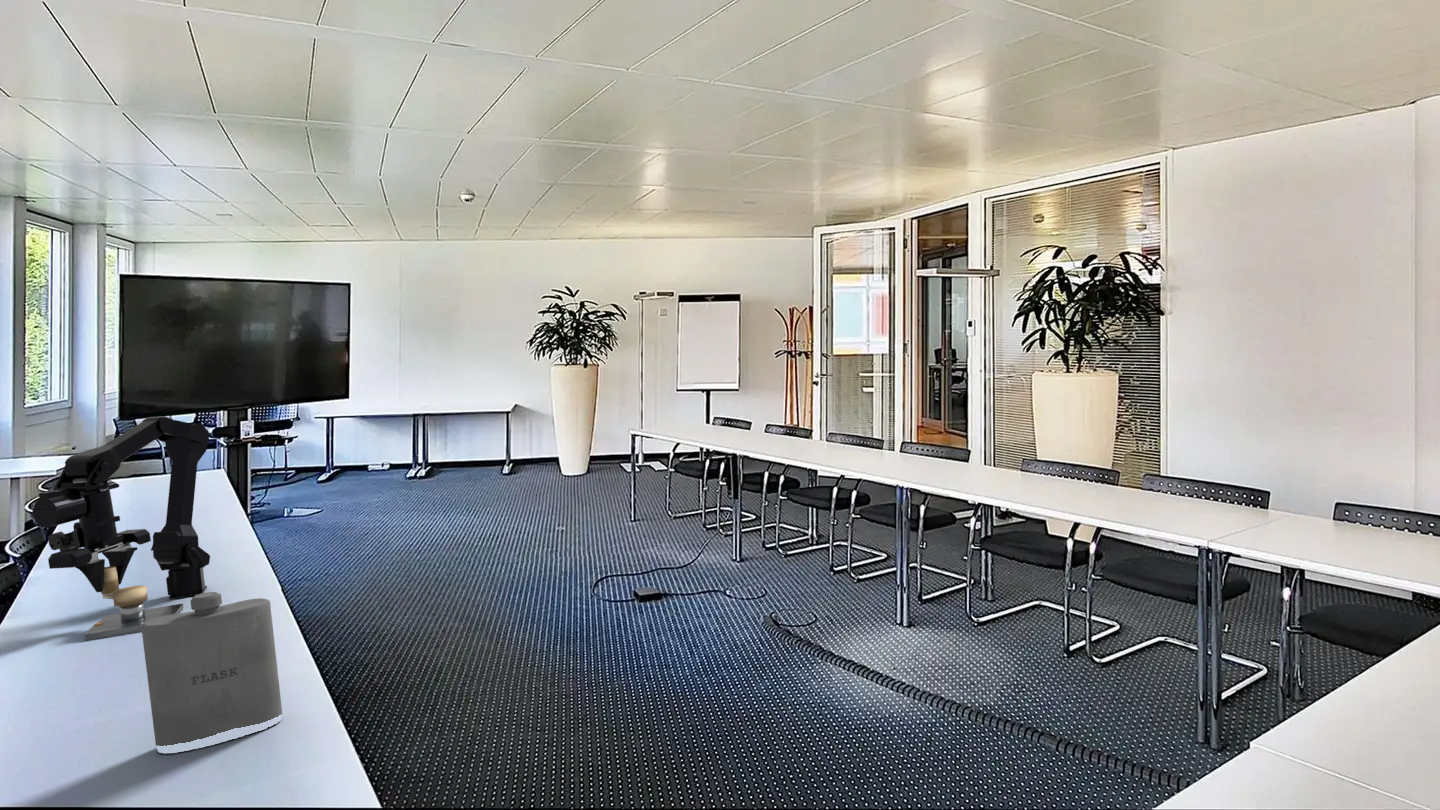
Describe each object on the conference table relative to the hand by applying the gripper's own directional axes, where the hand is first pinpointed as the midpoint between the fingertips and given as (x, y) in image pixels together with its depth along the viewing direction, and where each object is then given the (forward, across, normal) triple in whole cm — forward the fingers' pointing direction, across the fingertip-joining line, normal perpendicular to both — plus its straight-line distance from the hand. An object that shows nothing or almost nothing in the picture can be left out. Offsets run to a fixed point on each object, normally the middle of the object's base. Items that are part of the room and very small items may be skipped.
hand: (108, 588), depth 167 cm
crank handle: (+3, 0, +3) cm, 4 cm away
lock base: (+8, +1, +6) cm, 9 cm away
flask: (+7, +49, +63) cm, 80 cm away
